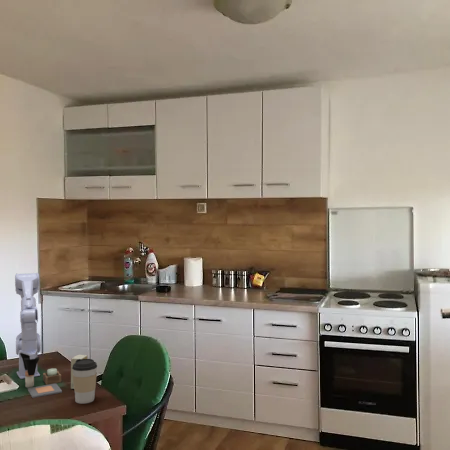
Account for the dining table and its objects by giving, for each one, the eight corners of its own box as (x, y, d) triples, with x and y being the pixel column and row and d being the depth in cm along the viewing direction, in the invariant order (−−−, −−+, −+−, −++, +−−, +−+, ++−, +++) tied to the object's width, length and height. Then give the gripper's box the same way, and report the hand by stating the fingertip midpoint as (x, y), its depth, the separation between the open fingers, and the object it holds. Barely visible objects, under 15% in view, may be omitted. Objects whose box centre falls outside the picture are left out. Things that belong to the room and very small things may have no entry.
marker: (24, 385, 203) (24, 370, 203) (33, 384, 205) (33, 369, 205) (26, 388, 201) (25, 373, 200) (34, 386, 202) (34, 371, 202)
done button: (46, 376, 209) (46, 369, 209) (55, 374, 211) (55, 367, 211) (48, 379, 206) (48, 371, 206) (57, 377, 208) (57, 370, 208)
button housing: (43, 380, 209) (43, 373, 209) (57, 377, 212) (57, 370, 212) (46, 384, 204) (46, 377, 204) (61, 382, 207) (61, 375, 207)
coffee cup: (102, 397, 191) (101, 358, 191) (88, 406, 183) (88, 365, 182) (81, 394, 194) (81, 355, 194) (67, 402, 186) (67, 362, 185)
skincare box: (80, 390, 199) (80, 359, 198) (70, 389, 200) (70, 358, 199) (88, 384, 205) (88, 354, 205) (78, 383, 206) (78, 354, 205)
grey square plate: (27, 389, 199) (27, 387, 199) (56, 384, 204) (56, 383, 204) (32, 397, 190) (32, 396, 190) (62, 392, 196) (62, 390, 196)
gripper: (15, 336, 206) (15, 369, 207) (21, 344, 194) (22, 379, 194) (33, 334, 210) (34, 366, 210) (40, 341, 198) (41, 376, 198)
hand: (29, 372), depth 203 cm, fingers open, 7 cm apart
